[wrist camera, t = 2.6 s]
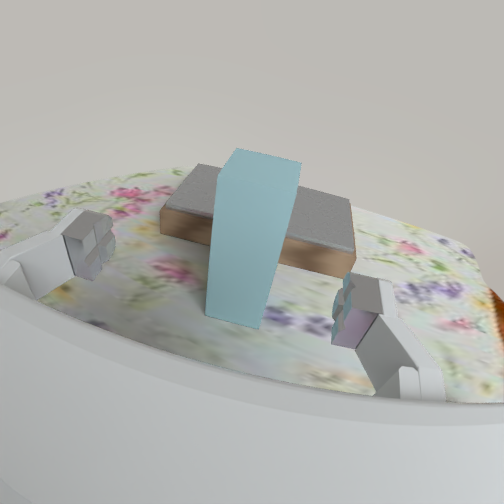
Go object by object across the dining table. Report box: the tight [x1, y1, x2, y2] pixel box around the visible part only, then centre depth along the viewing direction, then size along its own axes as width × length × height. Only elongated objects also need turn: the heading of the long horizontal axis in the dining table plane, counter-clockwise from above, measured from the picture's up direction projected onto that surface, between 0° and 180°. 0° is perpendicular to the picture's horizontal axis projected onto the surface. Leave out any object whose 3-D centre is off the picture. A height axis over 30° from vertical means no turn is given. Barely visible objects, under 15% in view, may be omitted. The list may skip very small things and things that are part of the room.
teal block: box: [205, 148, 301, 329], centre depth 26 cm, size 5×5×14 cm
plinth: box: [160, 164, 356, 279], centre depth 39 cm, size 22×12×4 cm, turn 79°
